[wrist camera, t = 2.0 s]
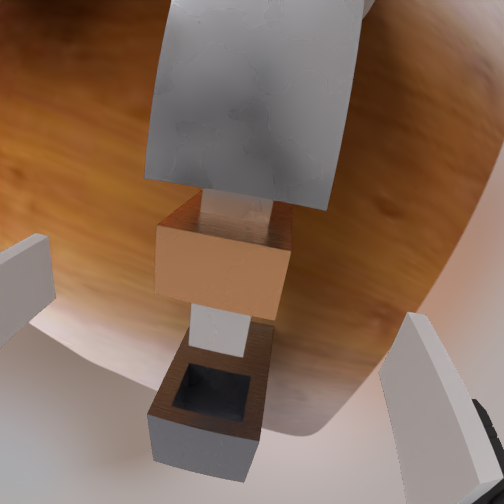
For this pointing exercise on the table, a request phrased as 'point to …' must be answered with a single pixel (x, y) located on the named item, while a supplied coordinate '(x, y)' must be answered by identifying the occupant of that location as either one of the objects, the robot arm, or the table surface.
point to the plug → (224, 264)
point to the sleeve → (254, 96)
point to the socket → (212, 407)
